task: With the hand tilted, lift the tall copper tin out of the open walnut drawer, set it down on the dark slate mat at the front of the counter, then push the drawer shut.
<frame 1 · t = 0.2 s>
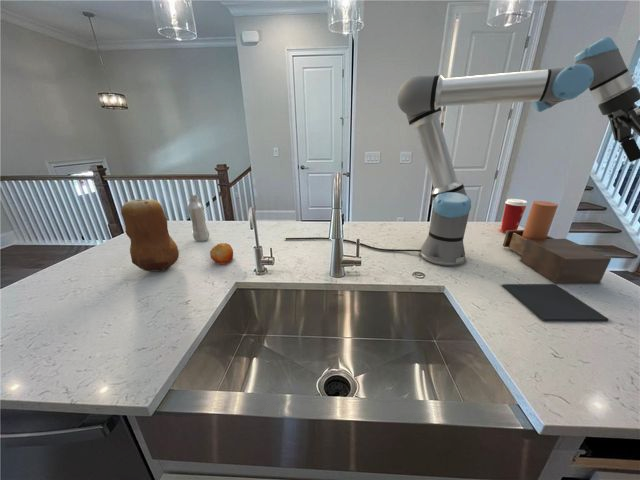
plastic bottle: (202, 240, 116), on the worktop
tin: (529, 249, 99), point 2 cm above the worktop, touching drawer
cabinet: (556, 271, 87), on the worktop
drawer: (530, 243, 98), point 4 cm above the worktop, slide at 10.0 cm, touching tin
coffee cup: (507, 232, 121), on the worktop
butternut squash: (159, 269, 92), on the worktop
fruit: (223, 262, 96), on the worktop
mat: (549, 301, 72), on the worktop
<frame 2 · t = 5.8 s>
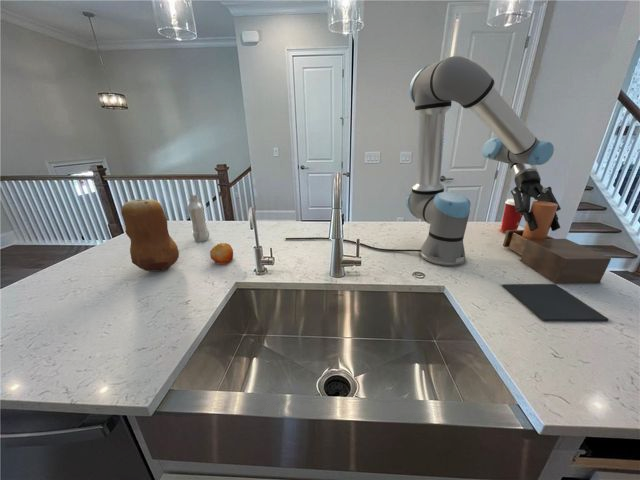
hand: (545, 229, 92), 12 cm above the worktop, tool tilted 45°, fingers closed on tin, 7 cm apart
tin: (529, 249, 99), point 2 cm above the worktop, touching drawer, gripper
everything else where it was.
when the fingers open (10 cm above the worktop, at t = 18.5 s): tin stays where it is, resting on mat.
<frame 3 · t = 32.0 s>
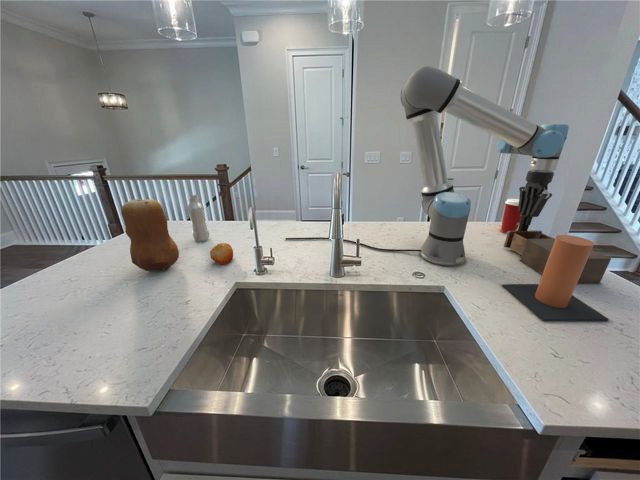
hand: (522, 231, 102), 7 cm above the worktop, tool pointing down, fingers closed
tin: (550, 299, 72), point 1 cm above the worktop, touching mat
drawer: (531, 243, 98), point 4 cm above the worktop, slide at 9.3 cm, touching gripper
everything else where it was.
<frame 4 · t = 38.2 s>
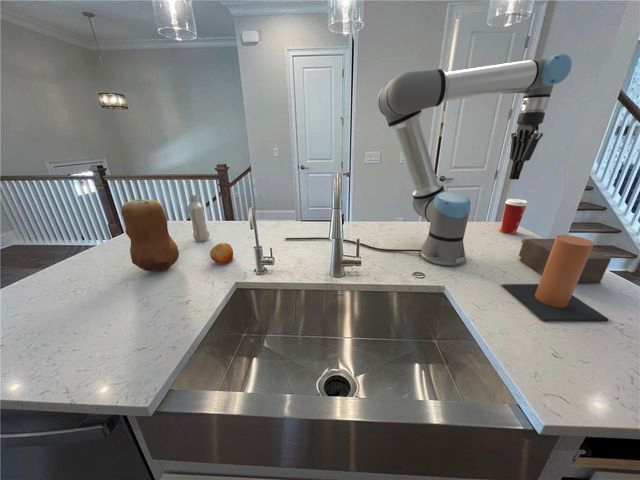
hand: (513, 179, 101), 26 cm above the worktop, tool pointing down, fingers closed
drawer: (549, 253, 90), point 4 cm above the worktop, slide at 0.8 cm
everything else where it was.
at the end: tin inside the target area on the mat (0.1 cm from its centre), point 0.6 cm above the mat's base; tin tilted 0°; drawer slide at 0.8 cm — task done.
